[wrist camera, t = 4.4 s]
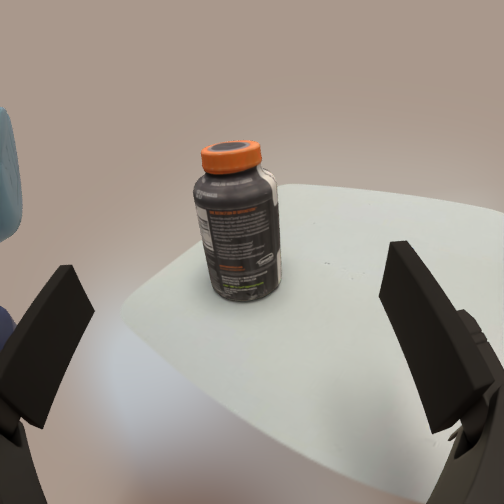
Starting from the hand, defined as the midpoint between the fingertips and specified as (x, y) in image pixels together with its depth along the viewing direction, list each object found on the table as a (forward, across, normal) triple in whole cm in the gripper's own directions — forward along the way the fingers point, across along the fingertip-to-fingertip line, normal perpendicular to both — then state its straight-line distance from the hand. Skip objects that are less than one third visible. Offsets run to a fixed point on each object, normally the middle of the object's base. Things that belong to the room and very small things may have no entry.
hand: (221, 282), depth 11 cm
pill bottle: (+11, 0, -8) cm, 14 cm away
